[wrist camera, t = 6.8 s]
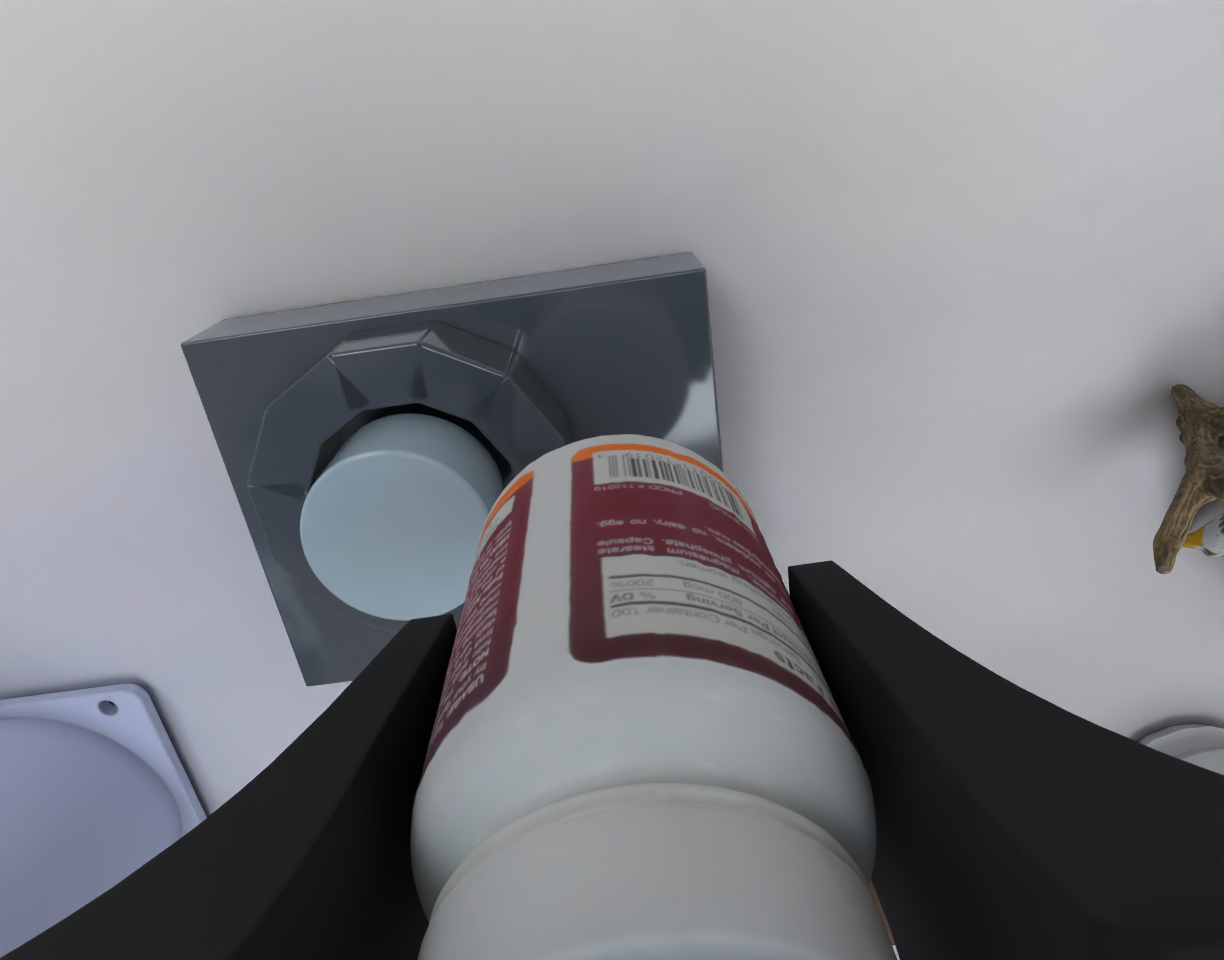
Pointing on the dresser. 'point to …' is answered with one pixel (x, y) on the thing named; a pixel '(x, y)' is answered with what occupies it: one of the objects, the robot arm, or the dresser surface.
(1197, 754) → the rook chess piece
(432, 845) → the pill bottle
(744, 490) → the dresser surface
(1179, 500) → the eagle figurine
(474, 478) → the light blue short cylinder
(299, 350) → the grey base plate
